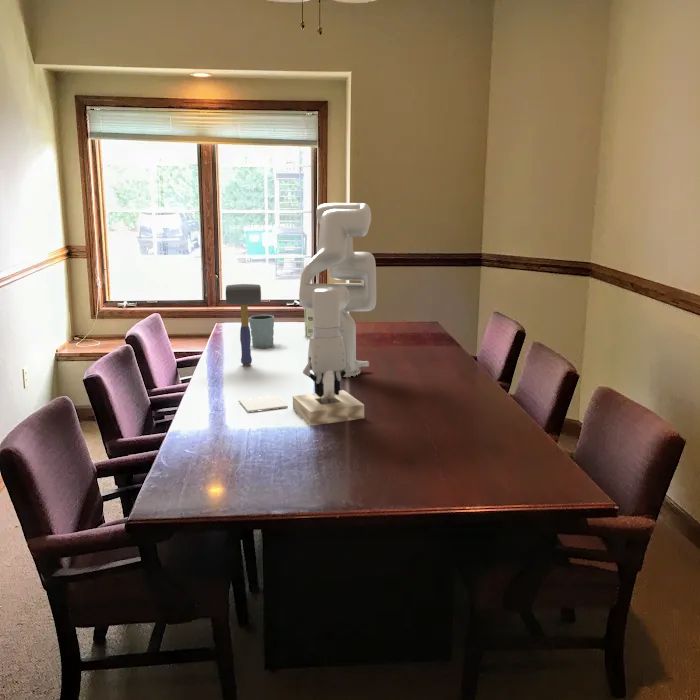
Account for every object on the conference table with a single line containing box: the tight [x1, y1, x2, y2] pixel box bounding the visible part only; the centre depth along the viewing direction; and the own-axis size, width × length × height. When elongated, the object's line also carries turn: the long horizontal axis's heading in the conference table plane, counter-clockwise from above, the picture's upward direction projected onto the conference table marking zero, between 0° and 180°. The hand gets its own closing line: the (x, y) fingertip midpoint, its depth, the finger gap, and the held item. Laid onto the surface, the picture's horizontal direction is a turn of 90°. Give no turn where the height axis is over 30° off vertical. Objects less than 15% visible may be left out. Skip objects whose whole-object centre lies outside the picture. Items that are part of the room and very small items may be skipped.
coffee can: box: [303, 308, 313, 340], centre depth 305 cm, size 10×10×14 cm
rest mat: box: [238, 394, 288, 413], centre depth 212 cm, size 12×12×1 cm
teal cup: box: [248, 314, 275, 349], centre depth 290 cm, size 10×10×12 cm
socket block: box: [292, 389, 365, 427], centre depth 203 cm, size 16×16×4 cm
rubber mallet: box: [225, 283, 262, 367], centre depth 256 cm, size 12×8×30 cm, turn 93°
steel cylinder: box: [320, 370, 335, 404], centre depth 202 cm, size 4×4×12 cm
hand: (327, 394), depth 202 cm, fingers closed on steel cylinder, 4 cm apart
